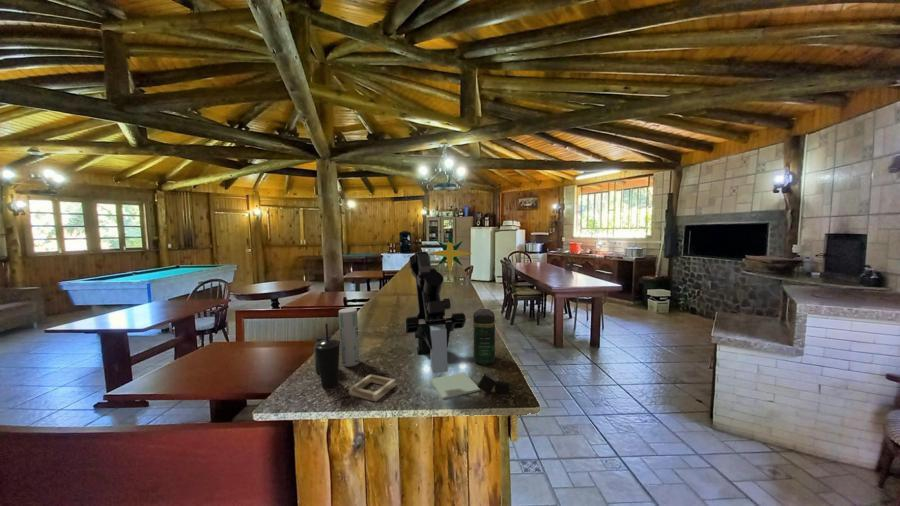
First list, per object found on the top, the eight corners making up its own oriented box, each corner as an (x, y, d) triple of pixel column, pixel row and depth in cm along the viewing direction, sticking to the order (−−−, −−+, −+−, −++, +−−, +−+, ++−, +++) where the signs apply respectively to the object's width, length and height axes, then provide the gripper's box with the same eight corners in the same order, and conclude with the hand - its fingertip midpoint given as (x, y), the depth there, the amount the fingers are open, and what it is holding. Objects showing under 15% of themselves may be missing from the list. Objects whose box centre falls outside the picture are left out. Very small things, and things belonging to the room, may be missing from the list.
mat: (430, 381, 107) (430, 379, 107) (464, 374, 111) (464, 372, 111) (442, 399, 95) (442, 397, 95) (480, 390, 100) (480, 388, 100)
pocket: (370, 380, 108) (370, 374, 108) (395, 385, 104) (395, 379, 104) (349, 394, 99) (348, 388, 99) (376, 401, 95) (375, 394, 95)
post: (430, 366, 102) (429, 326, 101) (444, 365, 103) (443, 324, 102) (433, 373, 98) (431, 330, 97) (447, 371, 99) (446, 329, 98)
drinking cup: (327, 393, 100) (323, 329, 99) (312, 387, 104) (308, 325, 103) (347, 382, 107) (344, 322, 105) (332, 377, 111) (328, 319, 109)
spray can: (359, 365, 120) (356, 311, 118) (340, 367, 118) (337, 313, 116) (359, 358, 126) (357, 307, 124) (342, 360, 124) (339, 308, 122)
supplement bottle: (339, 366, 119) (338, 334, 118) (327, 375, 113) (325, 341, 111) (324, 364, 121) (322, 332, 120) (310, 372, 115) (308, 339, 114)
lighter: (501, 398, 100) (511, 383, 100) (502, 402, 98) (513, 386, 97) (477, 383, 100) (487, 368, 99) (477, 387, 98) (487, 371, 97)
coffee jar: (495, 365, 117) (495, 314, 115) (473, 365, 118) (472, 314, 116) (495, 354, 126) (494, 307, 124) (474, 354, 127) (473, 307, 125)
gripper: (404, 291, 100) (409, 339, 91) (463, 287, 104) (474, 333, 95) (403, 310, 109) (407, 355, 99) (458, 305, 113) (467, 349, 103)
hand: (439, 348), depth 99 cm, fingers closed on post, 4 cm apart
